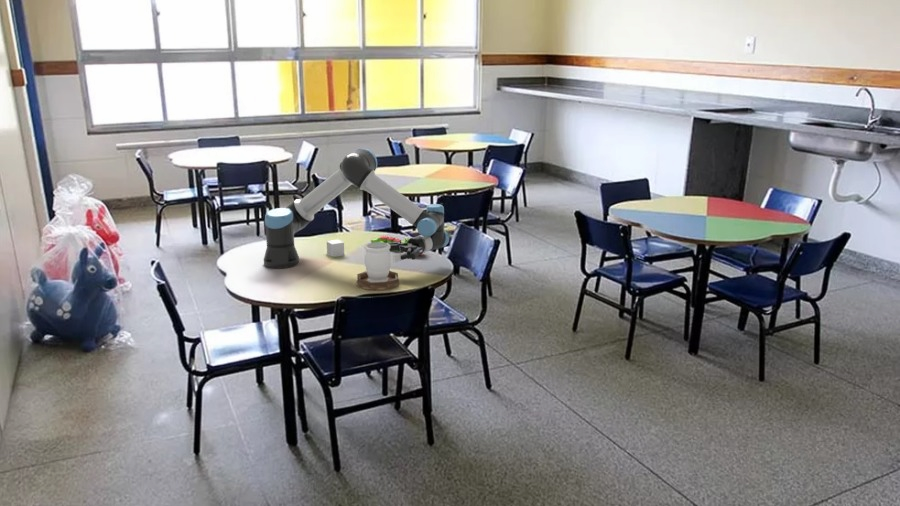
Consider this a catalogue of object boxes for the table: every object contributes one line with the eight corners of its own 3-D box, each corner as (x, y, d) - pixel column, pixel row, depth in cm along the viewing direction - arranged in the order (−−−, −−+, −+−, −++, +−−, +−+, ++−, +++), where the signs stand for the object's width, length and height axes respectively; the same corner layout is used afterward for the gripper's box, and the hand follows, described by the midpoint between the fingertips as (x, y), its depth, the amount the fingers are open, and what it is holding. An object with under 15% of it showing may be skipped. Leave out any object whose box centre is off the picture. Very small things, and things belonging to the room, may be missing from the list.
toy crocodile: (368, 247, 327) (368, 234, 325) (376, 243, 333) (376, 231, 331) (404, 253, 318) (404, 240, 317) (411, 249, 324) (411, 237, 322)
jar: (386, 286, 272) (386, 250, 268) (361, 284, 274) (360, 248, 270) (394, 277, 282) (393, 242, 278) (369, 275, 284) (369, 241, 280)
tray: (356, 290, 269) (356, 284, 269) (356, 276, 286) (356, 270, 285) (400, 289, 272) (400, 282, 271) (398, 275, 288) (397, 269, 287)
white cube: (344, 255, 314) (344, 242, 313) (332, 257, 311) (331, 244, 310) (339, 251, 319) (338, 239, 317) (327, 253, 316) (326, 241, 314)
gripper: (440, 259, 285) (404, 271, 270) (398, 247, 301) (361, 257, 286) (441, 242, 283) (403, 252, 267) (398, 230, 298) (361, 240, 283)
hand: (382, 255), depth 276 cm, fingers open, 13 cm apart
